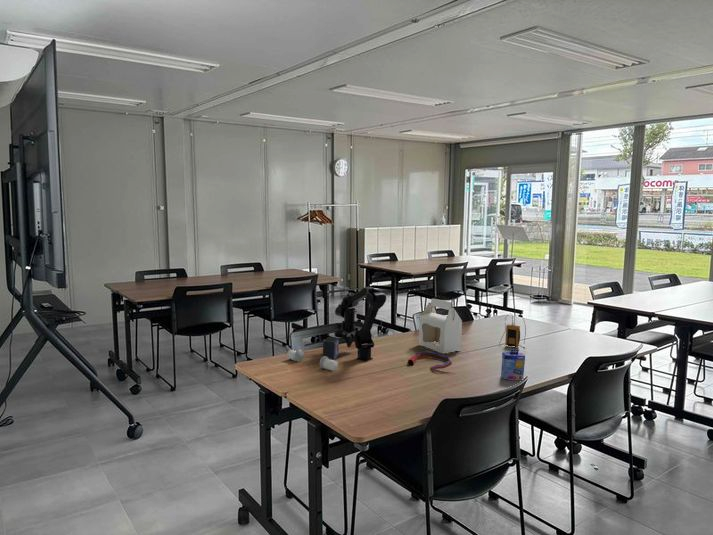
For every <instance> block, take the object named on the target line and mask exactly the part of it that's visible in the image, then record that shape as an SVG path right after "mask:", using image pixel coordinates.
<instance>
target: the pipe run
mask: <svg viewBox="0 0 713 535" xmlns="http://www.w3.org/2000/svg"><path fill="white" fill-rule="evenodd" d="M286 358H287V360H290V359H291V361H295V362H298V363H300V362H301V361H303V360H304V358H305V352H304V350H302V349H298V350H294V349H289V350H288V351H287V353H286ZM299 361H300V362H299ZM319 367H320V368H321V369H325V370H328V371H332V372H335V371H336V370H337V368H338V361H337V360H330V359H329V358H328V357H327V356H323V355H322V356H321V357H320V360H319ZM334 370H335V371H334Z"/></svg>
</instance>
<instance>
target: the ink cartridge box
mask: <svg viewBox="0 0 713 535" xmlns="http://www.w3.org/2000/svg"><path fill="white" fill-rule="evenodd" d="M525 361H526V355H525V354H524V353H523V352H520V351H519V349H511V350H510V351H502V353H501V371H500V372H501V373H500V377H501V379H502V378H503V379H508V380H507V381H523V380H524V376H525V375H524V374H525V373H524V372H525V364H526V362H525ZM503 379H502V380H503ZM522 379H523V380H522Z"/></svg>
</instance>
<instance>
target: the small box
mask: <svg viewBox="0 0 713 535" xmlns="http://www.w3.org/2000/svg"><path fill="white" fill-rule="evenodd" d="M339 341H340V339H339V337H335V336H334V337H333V336H328V337H326V338H325V339H324V340H322V357H323V356H327V357H328V358H329V359H330V360H334V361H336V359H337V358H338V357H339V348H340V347H339V346H340V345H339V343H340V342H339Z"/></svg>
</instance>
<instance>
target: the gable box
mask: <svg viewBox="0 0 713 535" xmlns="http://www.w3.org/2000/svg"><path fill="white" fill-rule="evenodd" d="M436 308H439V309H443V310H448V312H447V316H446V315H443V314H439V313H437V311H436ZM418 329H419V330H418V345H419V344H420V345H422V346H425V347H428V348H430V349H429V350H431V349H433V350H432V351H434V350H436V351H435V352H437V351H439V352H441V353H440V354H442V353H447V354H449V353H448V352H453V353H455V352H454V351H458V352H460V351H459V350H462V336H463V335H462V333H463V332H462V331H463V320H462V319H461V317H460V315H459V314H458V312H457V311H456V309H455V308H454V304H453V303H452V302H450V301H446V300H441V299H438V298H434V297H433V298H431V301H430V302H428V303H427V305H426V307H425V308H424V310H423V311H422V313H421V314H420V315H419V327H418ZM434 341H436V342H439V346H436V345H435V344H433V343H431V342H434ZM420 345H419V346H420ZM422 346H421V347H422ZM425 347H424V348H425ZM428 348H427V349H428ZM439 352H438V353H439Z"/></svg>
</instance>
